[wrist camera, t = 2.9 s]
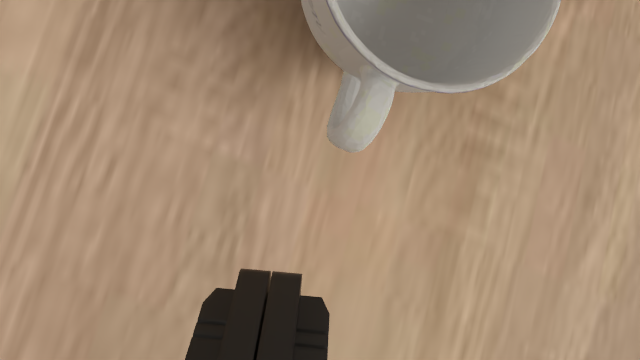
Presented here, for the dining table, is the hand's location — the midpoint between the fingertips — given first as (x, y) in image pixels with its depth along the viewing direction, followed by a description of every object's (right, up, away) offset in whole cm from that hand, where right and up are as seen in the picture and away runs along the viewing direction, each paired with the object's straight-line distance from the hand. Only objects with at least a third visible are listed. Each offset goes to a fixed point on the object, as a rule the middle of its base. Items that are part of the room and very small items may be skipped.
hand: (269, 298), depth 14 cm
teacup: (+4, +11, +17) cm, 20 cm away
